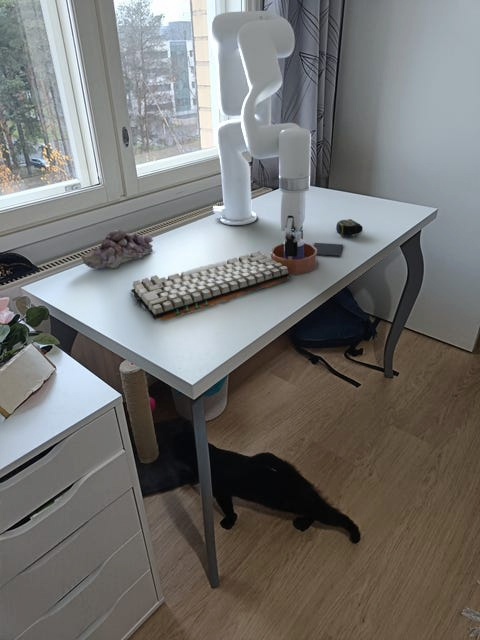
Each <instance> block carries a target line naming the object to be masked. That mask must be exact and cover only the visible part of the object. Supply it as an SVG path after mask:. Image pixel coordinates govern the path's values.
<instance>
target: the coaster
mask: <svg viewBox="0 0 480 640" xmlns="http://www.w3.org/2000/svg"><path fill="white" fill-rule="evenodd" d="M313 246H314V247H315V248H316V249H317V256H320V257H321V256H322V257H323V256H324V257H340V256H341V253H342V249H343V244H341V243H327V242H326V243H324V242H314V244H313Z"/></svg>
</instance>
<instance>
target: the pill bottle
mask: <svg viewBox="0 0 480 640" xmlns="http://www.w3.org/2000/svg"><path fill="white" fill-rule="evenodd" d="M292 235H293V236H294V233H292ZM301 236H302V232H301V231H300V230H299V231H298V232H297V239H296V241H297V242H298V248H297V256H296V257H292V256H285V240H284V242H283V243H284V259H293V260H297V259H303V258H304V243H305V241H304V239H303V240H302V239H301Z"/></svg>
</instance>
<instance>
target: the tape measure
mask: <svg viewBox="0 0 480 640" xmlns="http://www.w3.org/2000/svg"><path fill="white" fill-rule="evenodd" d="M335 225H336V227H335V230H336V233H337V234H338V235H342V236H344V237H352V236H356V235H359V234H361V233H362V232H363V228H364V227H363V226H362V225H361V224H360V223H358V222H357V221H356V220H353V219H351V218H349V219H341V220H339V221H337V223H336V224H335Z"/></svg>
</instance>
